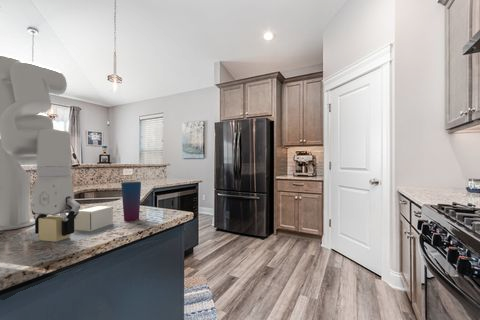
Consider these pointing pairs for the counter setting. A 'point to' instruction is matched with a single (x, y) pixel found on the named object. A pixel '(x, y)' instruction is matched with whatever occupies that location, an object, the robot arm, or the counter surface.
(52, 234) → the stub
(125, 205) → the cup
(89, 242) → the counter surface
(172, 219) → the counter surface
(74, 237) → the board
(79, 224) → the white rectangular box
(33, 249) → the counter surface
